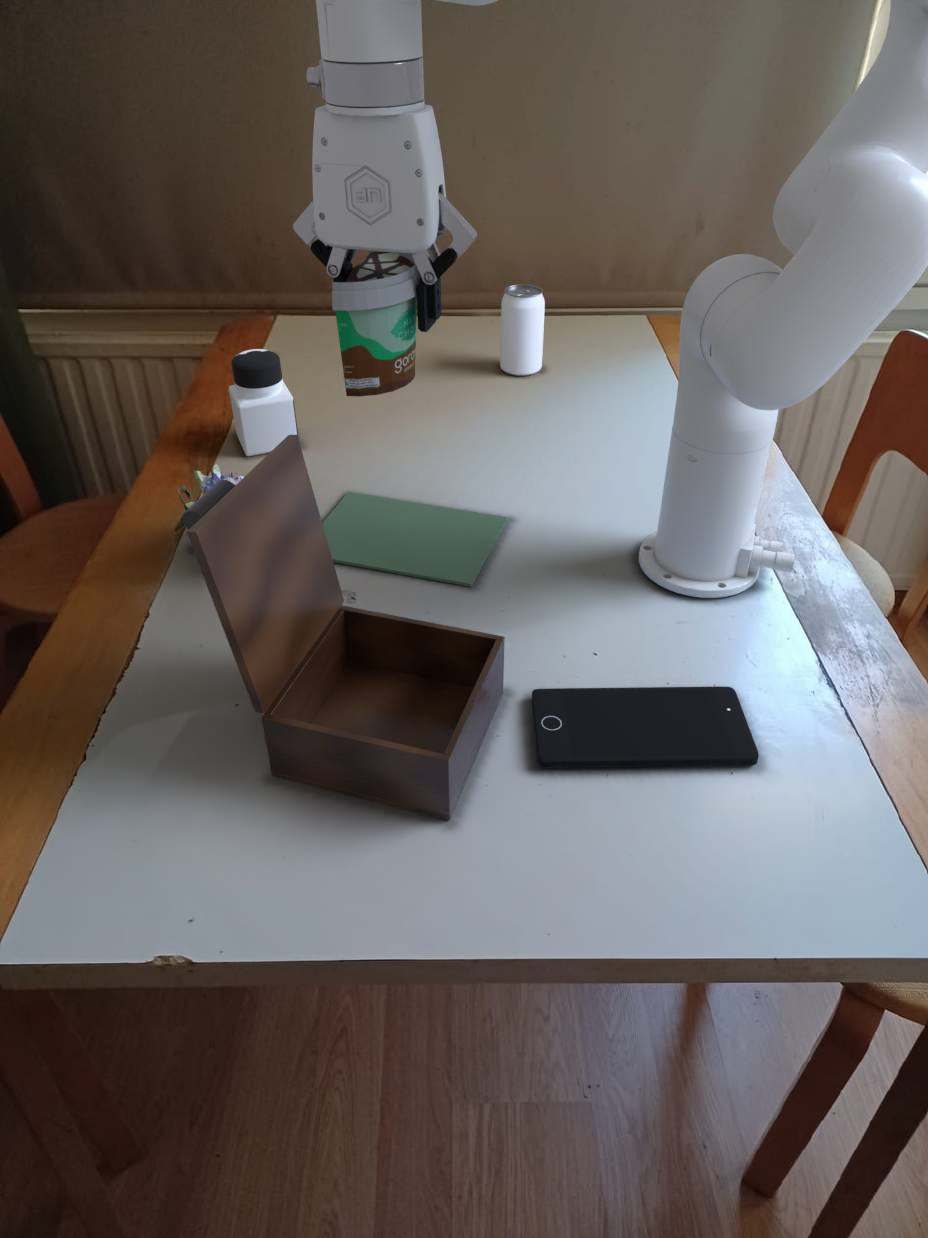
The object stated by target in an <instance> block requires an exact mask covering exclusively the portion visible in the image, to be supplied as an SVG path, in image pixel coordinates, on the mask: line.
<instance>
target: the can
mask: <svg viewBox="0 0 928 1238" xmlns="http://www.w3.org/2000/svg"><path fill="white" fill-rule="evenodd" d="M545 301H546V300H545V297H544V295H543V288H541V287H540V286H537V285H534V284H524V283H522V284H513V285H509V286H506V287H505V288H504V293H503V296H502V299H501V305H500V344H499V345H500V346H499V350H500V353H499V356H500V357H499V367H500V369H501V370H502V371H503V372H504V373H506V374H507V375H511V376H516V377H528V376H533V375H535V374H537V373H539V372H540V371H541V369H542V367H543V354H544V353H543V352H544V334H545V333H544V330H545V312H546V311H545V309H546V302H545Z"/></svg>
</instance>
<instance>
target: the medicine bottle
mask: <svg viewBox="0 0 928 1238" xmlns="http://www.w3.org/2000/svg"><path fill="white" fill-rule="evenodd" d="M230 363H231V369H232V375H233V381H234V382H233V383H234V384H232V385H229V386H228V394H229V400H230V404H231V406H230V407H231V411H232V416H233V422H234V428H235V434H236V436H237V438H238V441H239V443H240V445H241V447H242V449H243V453H244V454H245V456H246V457H253V456H259V455H265V454H269V453H270V452H271V451H272V450H273V449H274V448H275V447H276V446H277V445H279V444H280V443H281V442H282V441H283V440H284V439H285V438H286V437H287V436H288V435H298V439H299V431H298V430H299V429H298V422H297V416H296V408H295V400H294V397H293V395H292V393H291V391H290V390H289V389H288V387H287V385H286V384H285V381H284V379H283V371H282V366H281V365H282V364H281V358H280V356H279V355H278V354H277V353H276V352H274V351H272V350H268V349H264V348H253V349H247V350H243V351H241V352H239V353H238V354H236V355H234V357H233V358H232V359H231V362H230ZM299 440H300V439H299Z"/></svg>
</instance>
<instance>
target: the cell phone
mask: <svg viewBox="0 0 928 1238" xmlns="http://www.w3.org/2000/svg"><path fill="white" fill-rule="evenodd" d="M531 711H532V718H533V719H532V720H533V729H534V738H535V747H536V748H535V749H536V757H537V763H538V765H539V767H540V768H542V769H551V768H617V767H619V768H620V767H621V768H622V767H626V768H627V767H691V766H692V767H694V766H695V767H697V766H698V767H699V766H701V767H702V766H755V765H757V764H758V761H759V756H760V755H759V751H758V748H757V745H756V742H755V740H754V737H753V733H752V732H751V729H750V725H749V723H748V721H747V718H746V715H745V713H744V709H743V707H742V704H741V702H740V699H739V696H738V694H737V692H736V690H735V689H734V688H733V687H731V686H650V687H648V686H647V687H643V686H642V687H637V686H636V687H570V688H569V687H567V688H566V687H565V688H564V687H563V688H562V687H561V688H560V687H559V688H557V687H556V688H535V689H532V692H531Z"/></svg>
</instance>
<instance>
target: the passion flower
mask: <svg viewBox="0 0 928 1238" xmlns="http://www.w3.org/2000/svg"><path fill="white" fill-rule="evenodd" d="M192 474H193V477H194V479H195V481H196V483H197V485H198V487H199V488H200V490H201V492H202V496H203V495H204V494H205V493H206V492H207V491H208V490H209V489H210V488H211V487H212V486H214V485H215V484H216V483H217V482H218V481H220V480H228V481H230V482H232V483H233V484H234V485H237V484H238V483H239V482H240V481H241V480H242V479H243V478H244V477H245V476H244V475H239V476H236V477H234V475H233V472H230V473H229V474H226V473H224V474H223V473H221V469H220V467H219V464H214V465H213V466H212V469H211V471H210V475H211V477H209V476H207V475H204V474H203V473H202V471H201V470H193V471H192ZM236 475H238V473H237V472H236ZM181 493H184V494H185V495H186V498H187V499H188V500H191V499H192V494H191V492H190V490H188V488H187V487H186V486H185V485H182V486H179V487H178V489H177V494H178V496H179V499H180V502H181V503H182V505H183V507H184V510H185V511H186V510H187V509H189V508H190V507H191V506H192V505H193V504H194V503H195V502H196V501H197V500H198V499H199V498H200V497H197V498H196V501H191V502H190V501H189V502H186V501H184V499H183V496H182V494H181ZM183 527H185V526H184V524H183V521H182V517H181V518H180V519H179V521H177V522H176V524H175V527H174V532H178V531H180V530H181V528H183Z"/></svg>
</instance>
